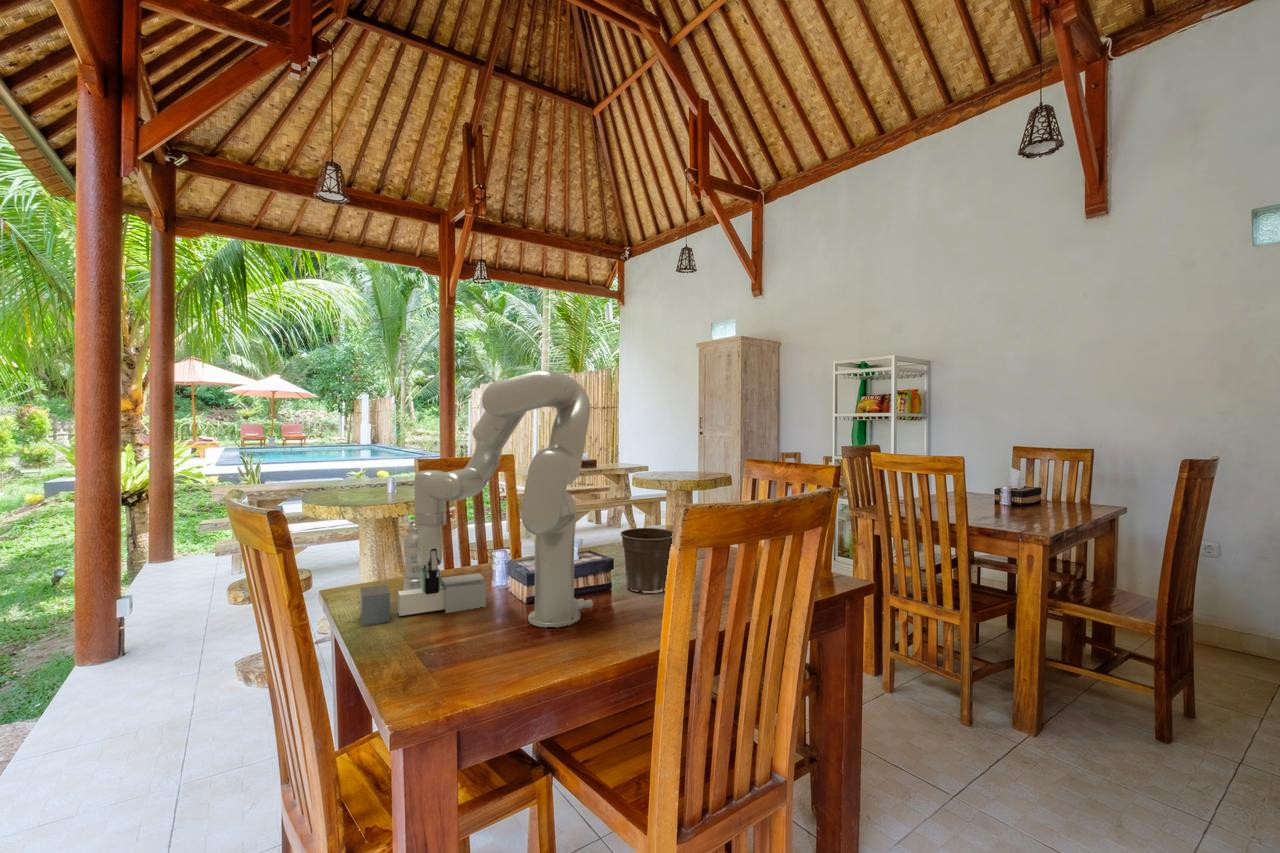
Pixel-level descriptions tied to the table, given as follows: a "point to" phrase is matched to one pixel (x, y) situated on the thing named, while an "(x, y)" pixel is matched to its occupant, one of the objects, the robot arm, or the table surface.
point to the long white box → (421, 599)
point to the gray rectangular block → (464, 592)
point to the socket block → (375, 605)
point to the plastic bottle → (412, 559)
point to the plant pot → (646, 557)
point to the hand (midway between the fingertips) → (430, 590)
